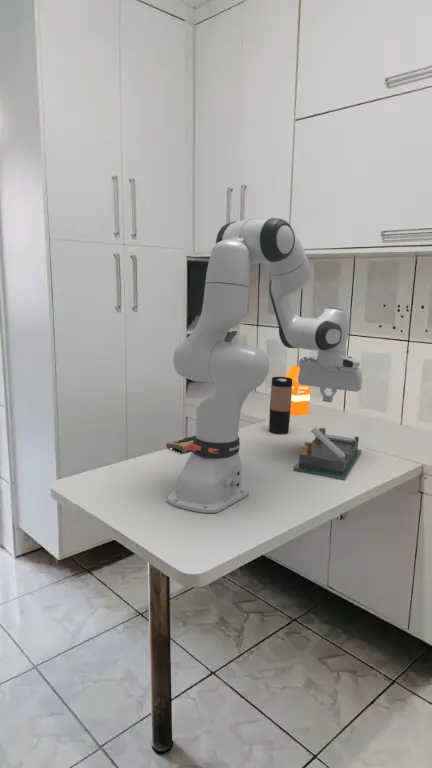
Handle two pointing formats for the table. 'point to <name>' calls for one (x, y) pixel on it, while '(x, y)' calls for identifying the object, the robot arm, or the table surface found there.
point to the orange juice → (298, 393)
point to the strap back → (339, 438)
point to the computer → (180, 445)
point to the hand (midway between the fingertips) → (327, 401)
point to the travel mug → (280, 405)
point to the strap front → (328, 442)
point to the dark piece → (327, 458)
